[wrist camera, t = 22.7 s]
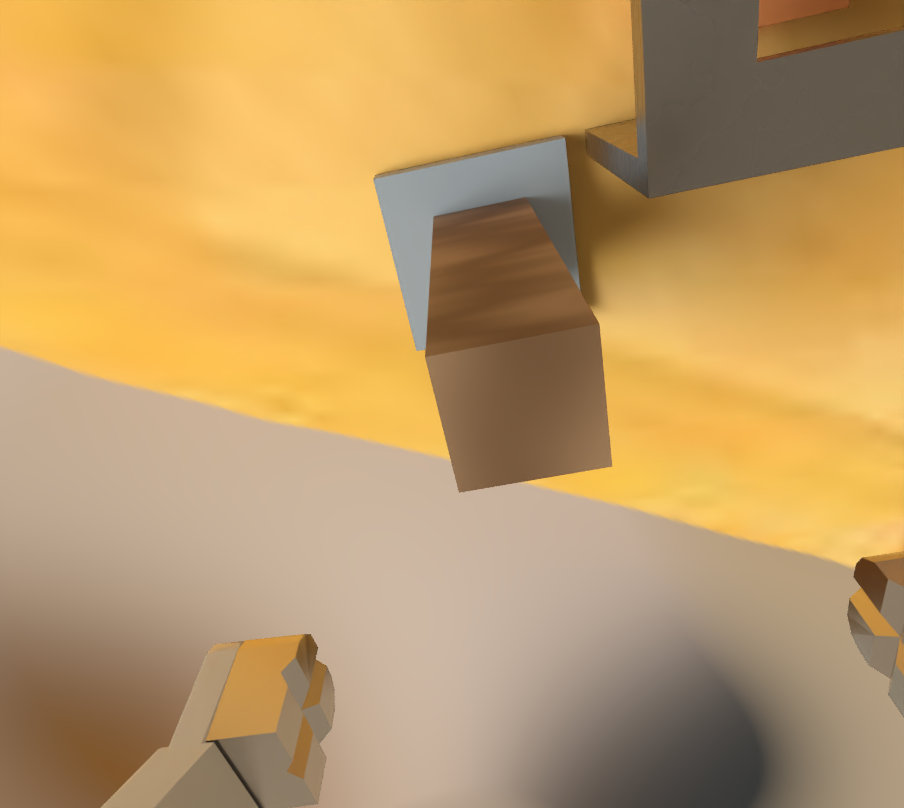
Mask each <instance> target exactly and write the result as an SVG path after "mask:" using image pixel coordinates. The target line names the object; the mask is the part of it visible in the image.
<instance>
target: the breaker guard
mask: <svg viewBox="0 0 904 808" xmlns="http://www.w3.org/2000/svg"><path fill="white" fill-rule="evenodd" d="M631 19H632V41H633V63H634V84H635V106H636V119H633V120H628V121H624V122H619V123H615V124H610V125H605V126H601V127H596V128H591V129H587V130H585V137H586V149H587V155H588V156H589V157H590V158H592V159H593V160H595V161H596V162H598V163H599V164H600V165H602V166H603V167H605V168H606V169H608V170H609V171H610V172H612V173H613V174H615V175H616V176H618V177H619V178H620V179H622V180H623V181H625V182H626V183H627V184H629V185H630V186H632V187H633V188H635V189H636V190H637V191H639V192H640V193H642V194H643V195H645V196H646V197H647V198H654V197H659V196H664V195H668V194H673V193H678V192H683V191H688V190H693V189H698V188H703V187H708V186H713V185H717V184H722V183H727V182H732V181H737V180H742V179H747V178H752V177H757V176H761V175H766V174H771V173H776V172H781V171H786V170H791V169H796V168H801V167H805V166H810V165H815V164H820V163H825V162H830V161H835V160H840V159H845V158H849V157H854V156H859V155H864V154H869V153H874V152H879V151H884V150H889V149H893V148H898V147H903V146H904V26H902V27H898V28H893V29H889V30H884V31H880V32H875V33H871V34H866V35H862V36H857V37H853V38H848V39H843V40H839V41H834V42H830V43H825V44H821V45H816V46H812V47H807V48H803V49H798V50H794V51H789V52H785V53H780V54H776V55H771V56H766V57H762V58H757V46H758V22H759V0H631Z"/></svg>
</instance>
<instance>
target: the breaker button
mask: <svg viewBox="0 0 904 808" xmlns="http://www.w3.org/2000/svg"><path fill="white" fill-rule="evenodd" d="M849 1H850V0H759V22H758V28H759V27H763V26H768V25H772V24H776V23H781V22H785V21H790V20H794V19H799V18H803V17H808V16H812V15H816V14H821V13H825V12H830V11H834V10H839V9H843V8H848V7H849Z"/></svg>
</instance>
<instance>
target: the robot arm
mask: <svg viewBox="0 0 904 808" xmlns="http://www.w3.org/2000/svg"><path fill="white" fill-rule="evenodd" d="M854 578H855V580H856V581H857V583H858V584H859V585H860V587H861V588H860V589H859V590H858V591H857V592H856V593H855V594H854V595H853V596H852V597H851V598H849V606H848V613H847V616H848V621H849V625H850V630H851V634H852V636H853V638H854V640H855V643H856V645H857V647H858V649H859V651H860V652H861V654H862V655H863V657H864V658H865V660H866V661H867V663H868V665H869V666H871V667H873V668H874V669H876V670H877V671H879V672H881V673H882V674H884V675H886V676H887V677H889V678H890V684H889V692H888V695H889V696H890V698H891V699H892V701H893V702H894V704H895V705H896V707H897V708H898V710H899V711H900V712H901V714H902V716H903V717H904V552H897V553H890V554H883V555H877V556H870V557H863V558H861V559H860V560H859V561H858V563H857V564H856V566H855V571H854ZM317 650H318V647H317V645H316V643H315V641H314V639H313V637H312V636H311V634H301V635H292V636H283V637H273V638H265V639H256V640H246V641H239V642H231V643H222V644H215V646H213V647H212V649H211V650H210V651H209V652H208V653H207V655H206V657H205V660H204V662H203V665H202V667H201V669H200V672H199V674H198V677H197V679H196V682H195V684H194V687H193V689H192V691H191V694H190V696H189V699H188V701H187V704H186V706H185V709H184V711H183V713H182V716H181V718H180V721H179V723H178V726H177V728H176V730H175V733H174V735H173V738H172V740H171V743H170V745H169V747H165V748H159V749H158V750H157V751H156V752H155V753H154V754H153V755H152V756H151V757H150V758H149V759H148V760H147V761H146V762H145V763H144V764H143V765H142V766H141V767H140V768H139V769H138V771H137V772H135V773H134V774H133V775H132V777H131V778H130V779H129V780H128V781H127V782H126V783H125V784H124V785H123V786H122V787H121V788H120V789H119V790H118V791H117V792H116V793H115V794H114V795H113V796H112V797H111V798H110V799H109V800H108V801H107V802H106V803H105V804H104V805H103V806H102V807H101V808H291V807H299V806H306V805H314V804H318V800H319V795H320V790H321V784H322V779H323V773H324V768H325V762H326V756H325V754H324V752H323V750H322V748H321V747H320V743H321V741H322V740H323V739H324V738H325V736H326V735H327V734H328V733H329V731H330V730H331V728H332V723H333V717H334V711H335V703H334V701H335V697H334V686H333V681H332V677H331V674H330V672H329V670H328V668H327V666H326V665H324V664H322V663H321V662H319V661H317V660H316V655H317Z"/></svg>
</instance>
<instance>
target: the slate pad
mask: <svg viewBox="0 0 904 808" xmlns="http://www.w3.org/2000/svg"><path fill="white" fill-rule="evenodd" d="M373 180H374V184H375V188H376V192H377V196H378V200H379V204H380V208H381V212H382V215H383V219H384V223H385V227H386V231H387V235H388V239H389V243H390V247H391V251H392V255H393V259H394V263H395V267H396V271H397V275H398V279H399V283H400V287H401V291H402V295H403V299H404V303H405V307H406V311H407V315H408V319H409V323H410V327H411V330H412V334H413V338H414V342H415V346H416V350H417V351H419V350H424V349H426V335H427V318H428V300H429V283H430V266H431V249H432V232H433V217H434V216H439V215H443V214H448V213H453V212H457V211H462V210H467V209H472V208H476V207H481V206H486V205H490V204H495V203H500V202H505V201H509V200H514V199H519V198H523V197H526V198H527V200H528V202H529V203H530V205H531V207H532V208H533V210H534V212H535V214H536V215H537V217H538V219H539V221H540V222H541V224H542V226H543V227H544V229H545V231H546V233H547V234H548V236H549V238H550V240H551V241H552V243H553V245H554V246H555V248H556V250H557V252H558V253H559V255H560V257H561V259H562V260H563V262H564V264H565V265H566V267H567V269H568V271H569V272H570V274H571V276H572V278H573V279H574V281H575V283H576V284H577V286H578V288H579V290H580V281H579V271H578V261H577V251H576V241H575V231H574V221H573V211H572V201H571V191H570V181H569V171H568V161H567V151H566V141H565V137H563V136H562V135H559V136H554V137H550V138H545V139H541V140H536V141H531V142H527V143H522V144H517V145H513V146H508V147H504V148H499V149H494V150H490V151H485V152H480V153H476V154H471V155H466V156H462V157H457V158H453V159H448V160H443V161H439V162H434V163H429V164H425V165H420V166H416V167H411V168H406V169H402V170H397V171H392V172H388V173H383V174H379V175H375V177H374V179H373Z"/></svg>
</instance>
